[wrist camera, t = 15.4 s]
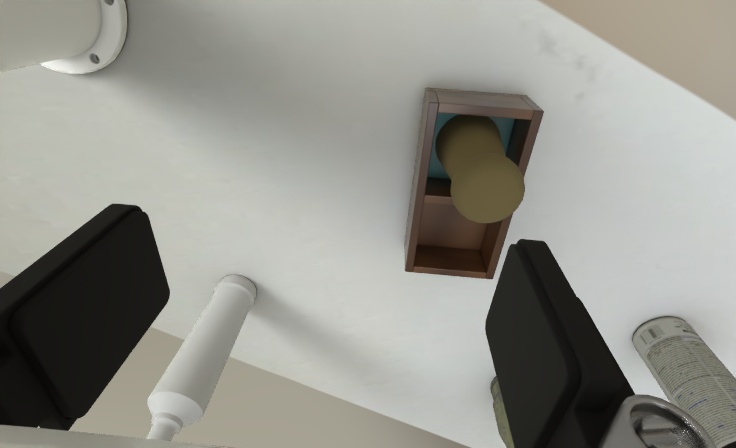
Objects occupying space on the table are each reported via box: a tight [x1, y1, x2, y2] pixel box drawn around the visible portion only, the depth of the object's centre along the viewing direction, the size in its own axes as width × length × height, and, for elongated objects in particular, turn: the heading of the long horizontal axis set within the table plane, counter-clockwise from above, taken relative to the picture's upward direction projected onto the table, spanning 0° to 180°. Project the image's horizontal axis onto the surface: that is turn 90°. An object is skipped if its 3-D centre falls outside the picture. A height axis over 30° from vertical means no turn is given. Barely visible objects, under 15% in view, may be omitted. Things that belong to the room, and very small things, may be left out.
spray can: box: [633, 317, 736, 448], centre depth 40 cm, size 7×7×20 cm
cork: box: [435, 114, 525, 223], centre depth 31 cm, size 6×6×11 cm
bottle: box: [146, 275, 257, 441], centre depth 39 cm, size 5×5×25 cm
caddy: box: [404, 88, 544, 279], centre depth 37 cm, size 9×17×5 cm, turn 177°
